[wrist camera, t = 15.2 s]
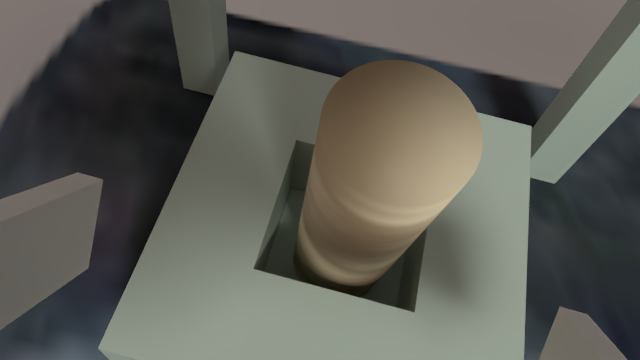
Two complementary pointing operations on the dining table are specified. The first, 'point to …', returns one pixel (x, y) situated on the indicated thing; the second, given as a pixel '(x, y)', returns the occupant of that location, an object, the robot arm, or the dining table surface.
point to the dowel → (382, 171)
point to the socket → (286, 206)
